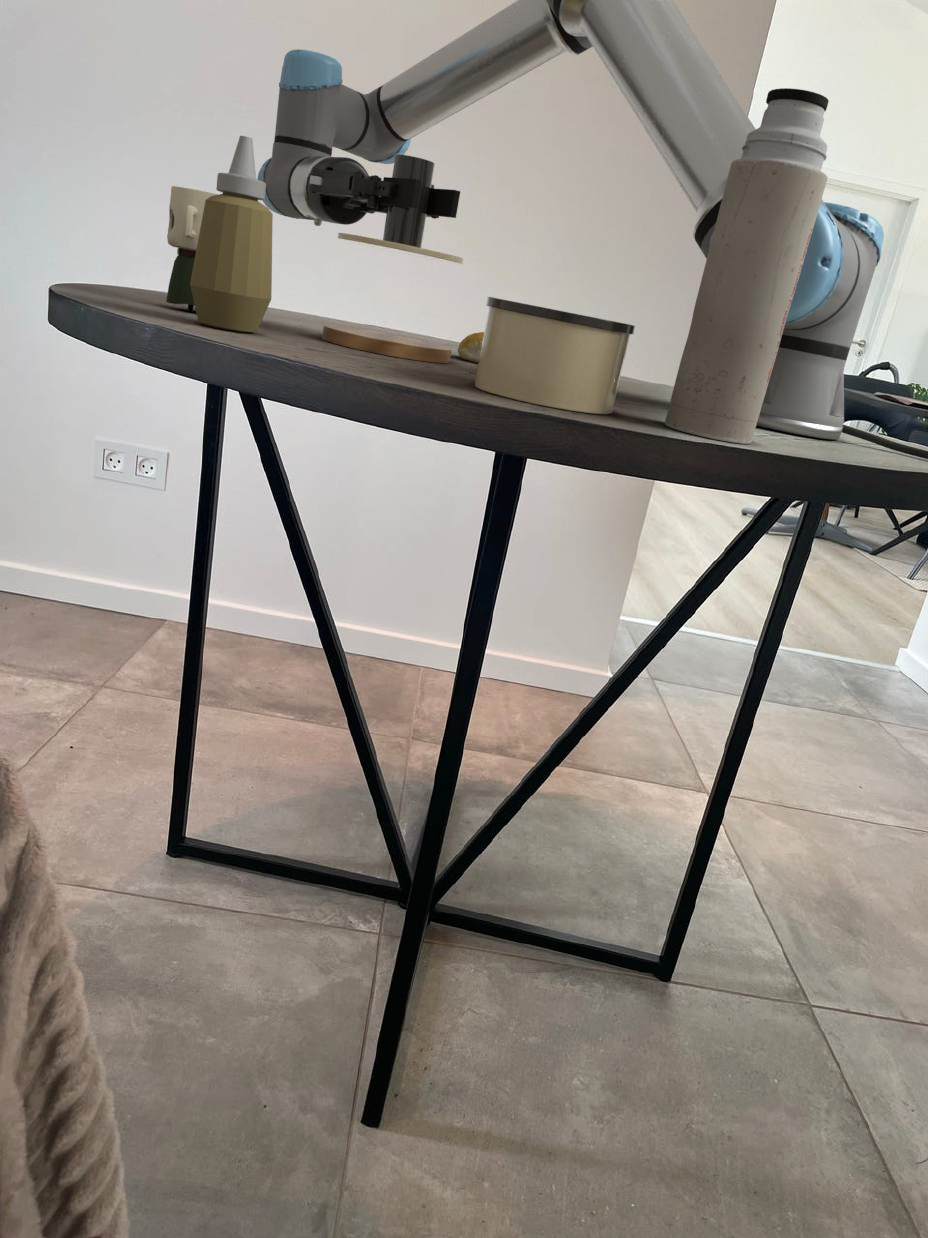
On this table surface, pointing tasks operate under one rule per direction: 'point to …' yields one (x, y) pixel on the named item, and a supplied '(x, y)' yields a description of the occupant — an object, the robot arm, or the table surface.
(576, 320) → the pot
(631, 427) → the table surface
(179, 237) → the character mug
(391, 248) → the lid
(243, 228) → the squeeze bottle
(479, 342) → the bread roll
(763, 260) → the thermos bottle
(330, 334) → the trivet
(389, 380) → the table surface
